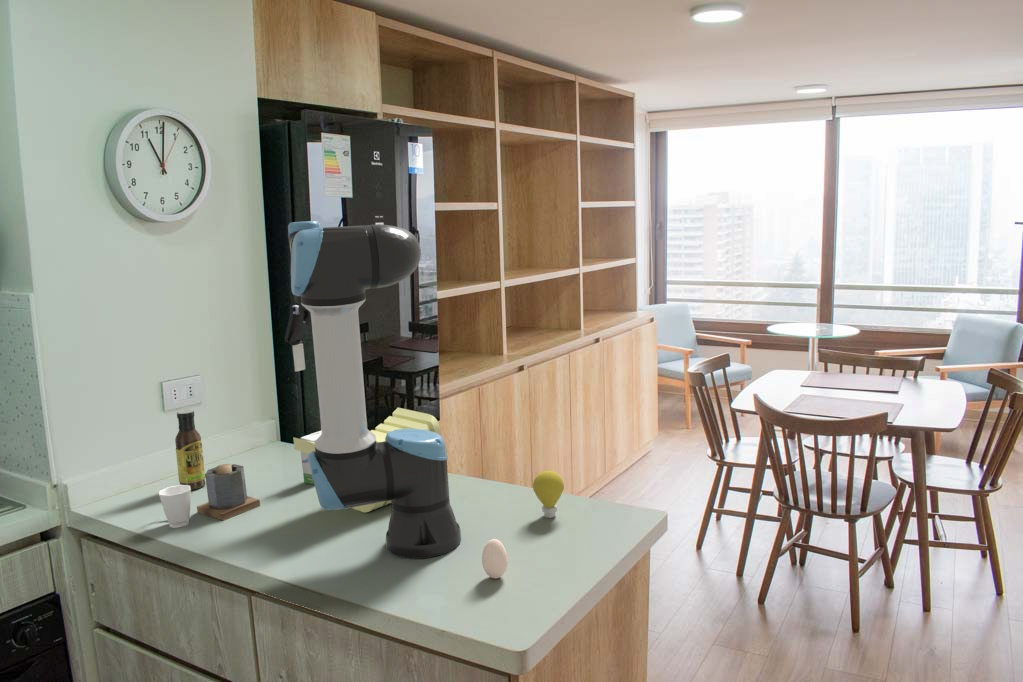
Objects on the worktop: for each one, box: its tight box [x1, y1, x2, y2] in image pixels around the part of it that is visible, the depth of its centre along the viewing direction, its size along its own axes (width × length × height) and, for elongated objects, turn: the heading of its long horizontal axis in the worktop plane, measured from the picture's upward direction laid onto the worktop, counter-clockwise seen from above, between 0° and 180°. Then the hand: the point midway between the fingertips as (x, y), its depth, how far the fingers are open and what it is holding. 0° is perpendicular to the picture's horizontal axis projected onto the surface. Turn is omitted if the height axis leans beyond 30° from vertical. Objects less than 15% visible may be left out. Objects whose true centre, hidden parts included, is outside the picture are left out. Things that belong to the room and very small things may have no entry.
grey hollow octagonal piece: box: [205, 463, 248, 510], centre depth 187 cm, size 8×8×8 cm
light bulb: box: [532, 470, 565, 519], centre depth 172 cm, size 7×7×10 cm
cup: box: [158, 484, 192, 529], centre depth 180 cm, size 7×10×8 cm
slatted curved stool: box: [293, 407, 442, 513], centre depth 187 cm, size 30×16×18 cm, turn 136°
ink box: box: [300, 430, 322, 486], centre depth 204 cm, size 8×5×12 cm, turn 147°
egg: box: [481, 538, 509, 579], centre depth 145 cm, size 5×5×7 cm
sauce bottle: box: [174, 409, 206, 491], centre depth 203 cm, size 6×6×20 cm
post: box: [196, 463, 261, 521], centre depth 187 cm, size 10×10×10 cm
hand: (318, 372), depth 196 cm, fingers open, 13 cm apart
